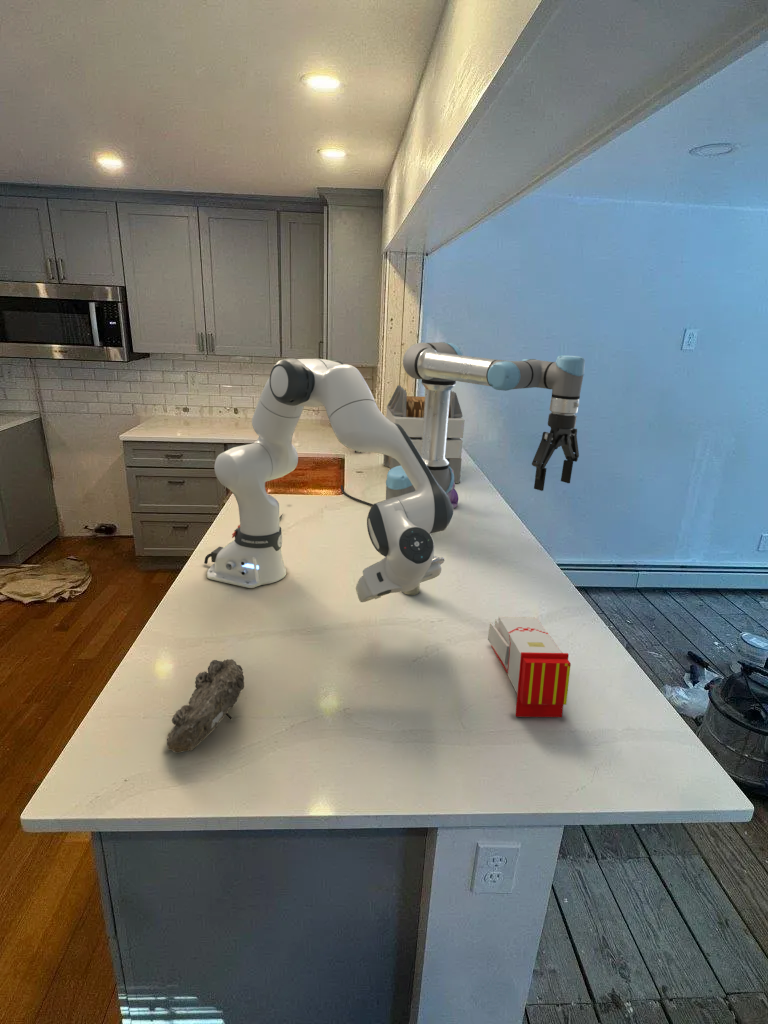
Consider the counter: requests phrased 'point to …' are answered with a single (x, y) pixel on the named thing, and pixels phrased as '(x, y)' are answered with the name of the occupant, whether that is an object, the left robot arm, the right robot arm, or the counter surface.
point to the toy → (531, 665)
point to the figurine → (453, 496)
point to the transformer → (411, 420)
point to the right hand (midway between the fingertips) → (552, 485)
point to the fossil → (206, 705)
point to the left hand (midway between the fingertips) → (394, 589)
